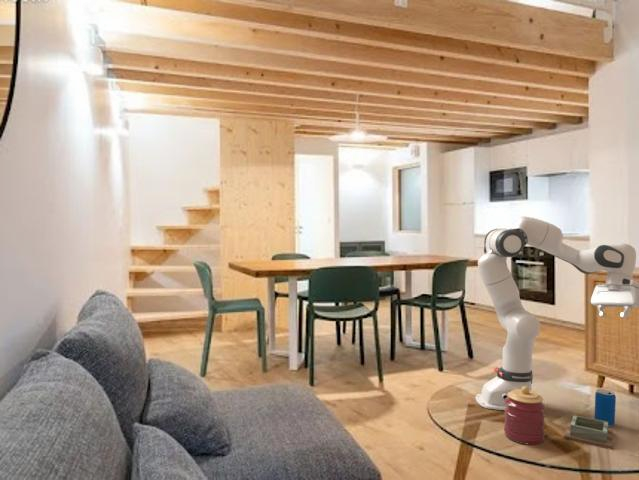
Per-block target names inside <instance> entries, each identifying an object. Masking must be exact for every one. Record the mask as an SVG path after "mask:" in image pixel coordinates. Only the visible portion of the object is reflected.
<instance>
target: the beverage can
mask: <svg viewBox="0 0 639 480" xmlns="http://www.w3.org/2000/svg"><path fill="white" fill-rule="evenodd" d="M616 399H617V398H616V394H615V392H614V391H613V390H609V389H606V388H605V389H604V388H603V389H601V388H598V389H596V392H595V399H594V419H597V420H602V421H607V422H608V428H609V427H613V426H614V425H615V422H616V404H617V403H616Z"/></svg>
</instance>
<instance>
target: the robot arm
mask: <svg viewBox="0 0 639 480" xmlns="http://www.w3.org/2000/svg"><path fill="white" fill-rule="evenodd" d="M563 236H564V235H563V231H562V230H561V228H559V227H558V226H557V225H555V224H554V223H550V222H547V221H544V220H542V219H539V218H535V217H530V216H525V215H524V216H520V217H518V218H517V219H516V220H515V221H514V223H513V225H512V226H511V227H510V228H495V229H492V230H491V229H490V231H489V232H488V233H487V234H486V235H485V237H484V248H483V252H484V254H483V255H481V256H480V257H479V258H478V260H477V266H478V271H479V275H480V276H481V279H482V282H483V284H484V286H485V288H486V290H487V292H488V294H489V296H490V299H491V301H492V303H493V306H494V310H495V313H496V316H497V320H498V323H499V324H500V326H501V327H502V329H504V330H505V331H507V336H506V341H505V343H504V346H503V347H502V356H501V357H502V361H501V362H502V364H501V367H498V366H494V367H493V372H494V373H496V376H495V377H493V378H492V379H490V380H488V381H487V382H485V383H484V384H483V386H482V389H481V393H477V394H476V395H475V400H476V402H477V403H478V404H479V406H481V407H483V408H485V409H489V410H498V411H499V410H500V411H505V408H506V403H505V399H506V398H507V397H508V393H509V392H511V391H513V390H515V389H521V388H522V387H523V386H527V387H528V388H529V390H531V391H533V389H532V384H533V377H534V376H533V369H532V363H533V362H532V361H533V359H532V358H533V349H534V347H535V342H536V338H537V337H538V335H540V332H541V329H542V327H541V326H542V325H541V323H540V321H539V320H538V318H537V317H536V315H534V314H533V313H531V312H530V311H528V310H526V309H525V308H524V306H523V303H522V301H521V298H520V289H519V288H518V286H517V283H516V281H515V279H514V277H513V275H512V273H511V271H510V268H509V267H508V263H507V261H508V260H507V259H508V258H513V257H516V256H518V255H520V253H521V252H523V249H524V248H525V246H527V245H528V246H531V247H532V248H535V249H538V250H541V251H543V252H545V253H547V254H549V255H550V256H553V257H555V258H557V259H560V260H561V261H564V262H567V263H568V264H570V265H572V266H573V267H574V268H575V270H577V271H579V272H580V273H582V274H586V275H591V274H594V273H597V272H600V271H605V272H607V275H606V280H605V283H603V284H601V283H600V284H599V283H598V285H596V286H595V287H594V289H593V293H592V295H591V298H590V303H591V305H593V306H594V307H597V309H598V312H599V313H598V317H599V318H606V312H604V310H605V307H606V308H623V309H624V310H623V312H620V318H621V319H627V318H628V315H629V314H630V312H631V311H632V310H633V309H632V308H639V282H638V281H636V280H634V275H633V274H634V271H635V269H636V264H637V251H636V248H634V246H632V245H631V244H628V243H624V242H617V243H616V244H611V245H607V244H601V245H597V246H593V247H591V248H588V249H576V248H574V247H572V246H569V245H567V244H566V243H564V242H563V239H564V237H563Z"/></svg>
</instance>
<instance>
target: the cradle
mask: <svg viewBox="0 0 639 480" xmlns="http://www.w3.org/2000/svg"><path fill="white" fill-rule="evenodd" d="M613 436H614V431H613V430H612V429H611V430H610V429H609V427H608V422H607V421H602V420H597V419H595V418H592V417H587V416H583V415H582V416H581V415H577V414H573V416H572V419H571V421H568V423H567V426H566V429H565V433H564V439H565V440H569V441H573V442H577V443H578V442H579V443H583V444H588V445H590V446H595V447H599V446H600V448H604V449H608V448H610V449H609V450H612V448H613V439H614V438H613Z"/></svg>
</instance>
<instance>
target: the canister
mask: <svg viewBox="0 0 639 480" xmlns="http://www.w3.org/2000/svg"><path fill="white" fill-rule="evenodd" d="M543 401H544V398H543V396H541V395H540V394H538V392H536V391H533V390H532V391H531V390H529V388H528V387H527V386H523V387H522V388H521V389H515V390H513V391H511V392H509V393H508V397H507V398H506V399H505V403H506V408H505V410H504V425H503V431H504V435H505V436H506V437H507V438H508V439H510V440H511V439H512V440H511V441H513V440H514V441H513V442H515V441H518V442H517V443H519V442H522V443H521V444H523V443H528V444H527V445H539V444H541V443H543V442H544V440H545V436H546V434H545V433H546V432H545V419H546V414H545V412H544V411H545V409H546V407H547V406H546V404H545V403H544V402H543Z"/></svg>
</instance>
